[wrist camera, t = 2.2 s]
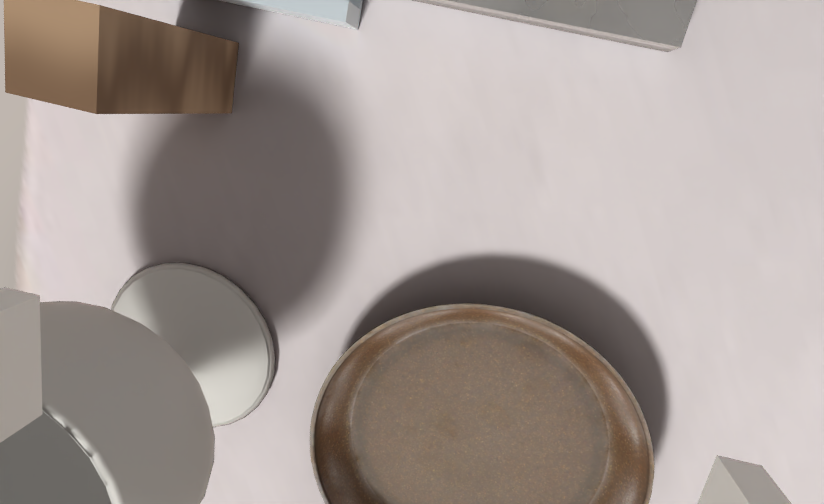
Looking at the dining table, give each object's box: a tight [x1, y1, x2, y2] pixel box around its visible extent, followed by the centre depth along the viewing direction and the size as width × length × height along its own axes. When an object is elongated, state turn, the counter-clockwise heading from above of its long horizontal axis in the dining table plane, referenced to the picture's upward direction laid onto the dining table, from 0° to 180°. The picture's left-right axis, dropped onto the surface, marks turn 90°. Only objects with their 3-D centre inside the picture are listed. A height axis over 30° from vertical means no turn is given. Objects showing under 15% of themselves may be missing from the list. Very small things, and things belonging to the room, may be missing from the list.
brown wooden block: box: [4, 0, 239, 114], centre depth 25 cm, size 4×4×11 cm
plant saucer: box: [310, 303, 654, 504], centre depth 33 cm, size 21×21×3 cm
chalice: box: [0, 263, 275, 504], centre depth 28 cm, size 14×14×15 cm
